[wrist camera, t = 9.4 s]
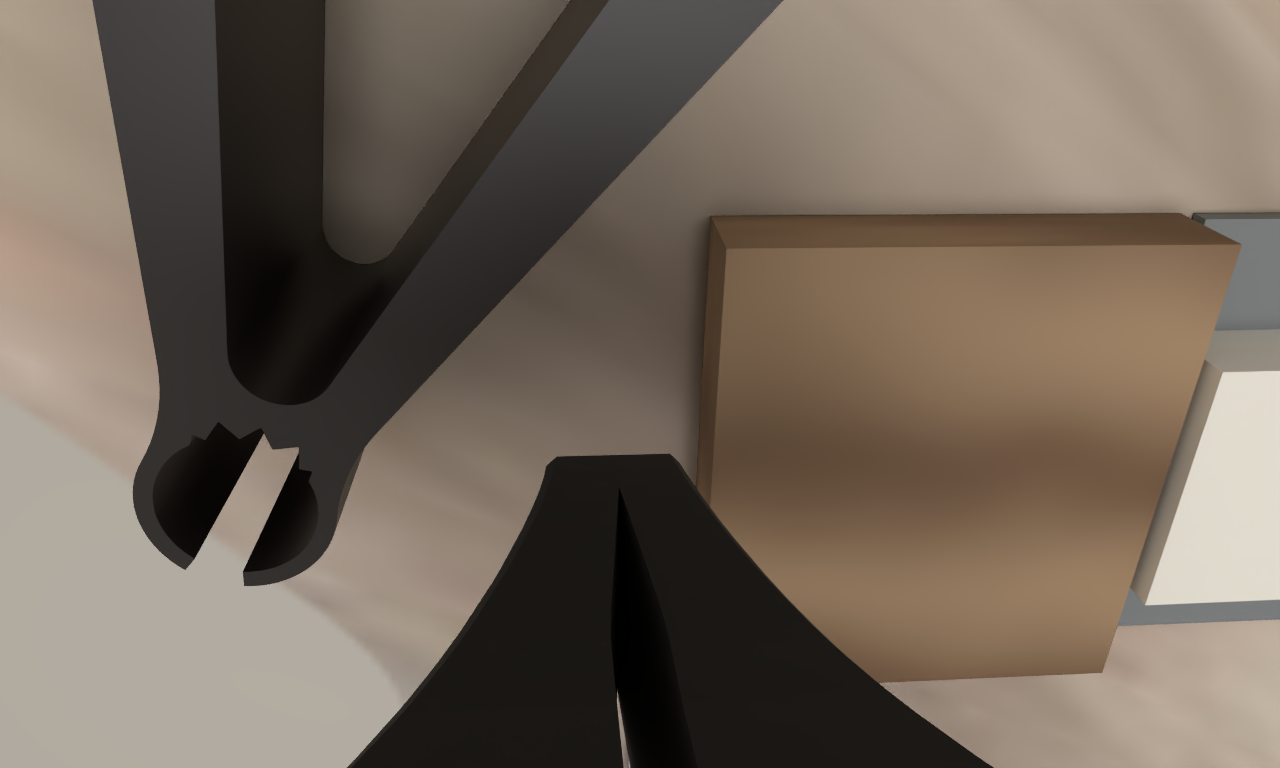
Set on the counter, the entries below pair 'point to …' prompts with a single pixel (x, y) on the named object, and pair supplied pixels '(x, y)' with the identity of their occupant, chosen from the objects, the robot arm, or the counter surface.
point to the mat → (1255, 300)
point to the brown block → (952, 422)
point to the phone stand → (303, 261)
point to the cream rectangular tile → (1221, 484)
